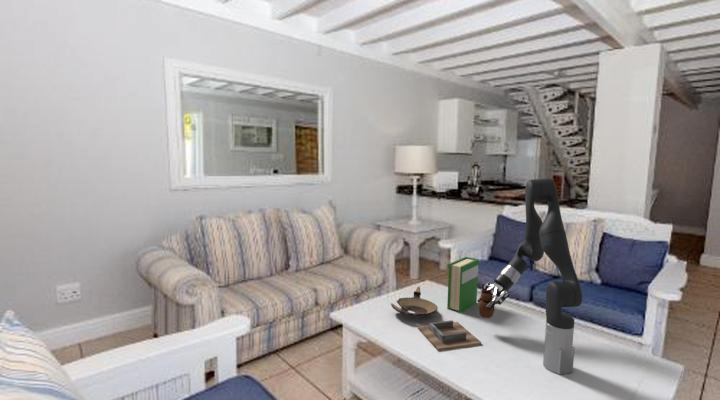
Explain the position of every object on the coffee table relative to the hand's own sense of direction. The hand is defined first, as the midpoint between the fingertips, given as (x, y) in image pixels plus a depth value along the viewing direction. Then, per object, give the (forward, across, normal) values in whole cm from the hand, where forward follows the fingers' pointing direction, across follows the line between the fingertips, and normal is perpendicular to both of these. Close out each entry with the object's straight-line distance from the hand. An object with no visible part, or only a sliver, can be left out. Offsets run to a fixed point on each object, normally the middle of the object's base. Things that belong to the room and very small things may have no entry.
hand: (483, 305), depth 171 cm
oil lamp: (+23, -27, -5) cm, 36 cm away
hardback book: (+4, -28, +13) cm, 32 cm away
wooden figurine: (+3, 0, +5) cm, 6 cm away
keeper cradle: (+20, 0, -3) cm, 21 cm away
